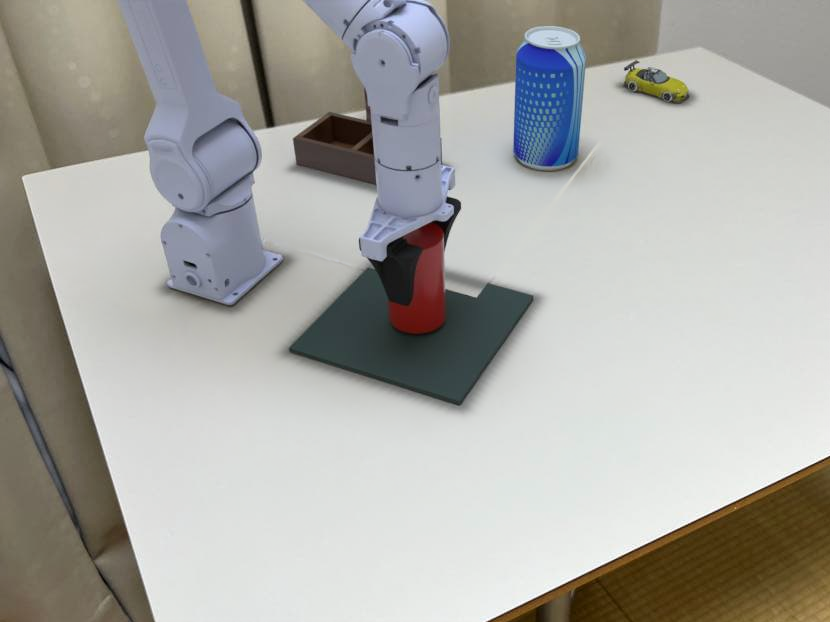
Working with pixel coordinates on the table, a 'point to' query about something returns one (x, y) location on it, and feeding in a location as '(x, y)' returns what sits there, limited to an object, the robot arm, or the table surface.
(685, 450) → the table surface
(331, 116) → the holder
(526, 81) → the beer can
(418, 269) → the can
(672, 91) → the toy car
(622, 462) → the table surface
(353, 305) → the mat
